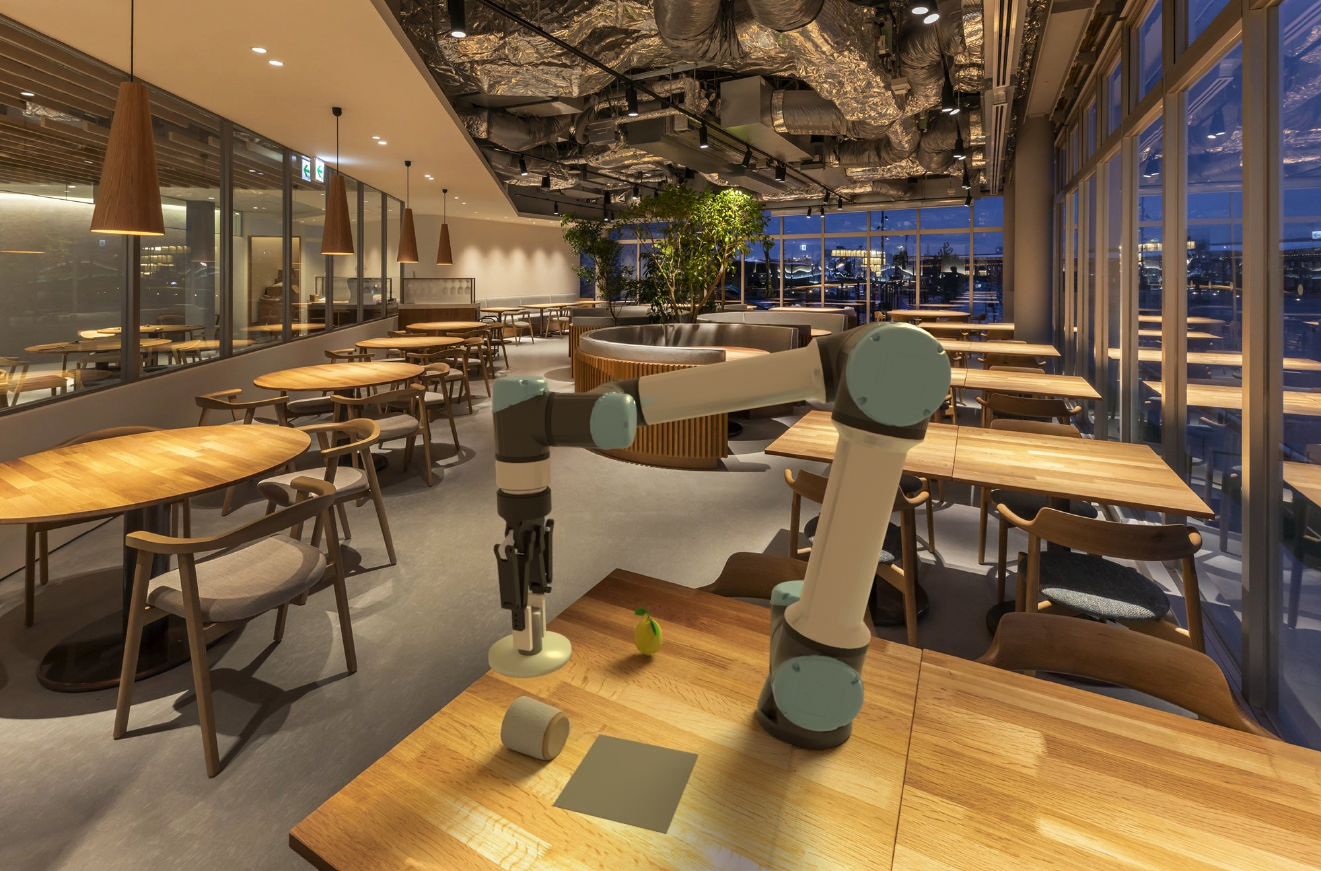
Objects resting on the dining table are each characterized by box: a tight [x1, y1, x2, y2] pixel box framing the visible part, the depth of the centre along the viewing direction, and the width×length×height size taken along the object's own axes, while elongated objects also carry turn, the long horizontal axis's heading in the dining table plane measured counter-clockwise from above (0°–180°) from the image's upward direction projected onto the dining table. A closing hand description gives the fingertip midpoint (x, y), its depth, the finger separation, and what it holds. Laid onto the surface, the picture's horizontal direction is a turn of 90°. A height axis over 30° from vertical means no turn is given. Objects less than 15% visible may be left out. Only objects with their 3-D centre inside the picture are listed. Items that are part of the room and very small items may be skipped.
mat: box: [552, 733, 700, 834], centre depth 95 cm, size 16×16×1 cm
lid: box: [487, 606, 573, 679], centre depth 98 cm, size 12×12×7 cm
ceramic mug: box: [500, 695, 572, 761], centre depth 102 cm, size 11×8×8 cm
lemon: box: [633, 606, 664, 657], centre depth 128 cm, size 7×6×10 cm
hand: (530, 641), depth 98 cm, fingers closed on lid, 3 cm apart
